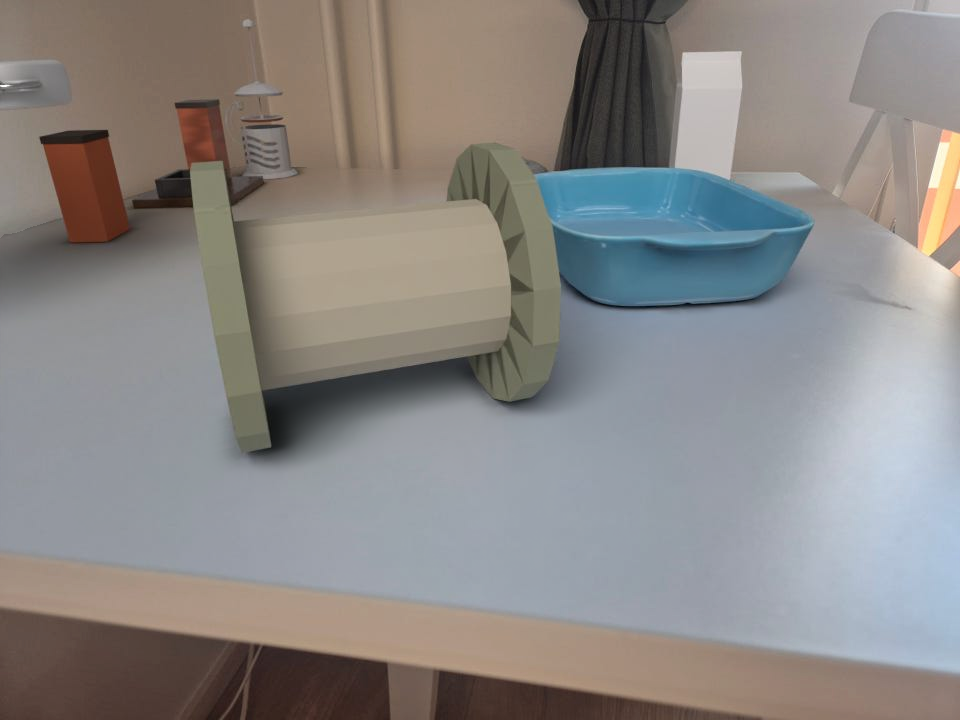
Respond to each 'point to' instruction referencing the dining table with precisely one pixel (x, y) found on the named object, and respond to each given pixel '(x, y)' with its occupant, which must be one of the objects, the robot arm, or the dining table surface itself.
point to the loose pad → (86, 184)
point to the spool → (382, 287)
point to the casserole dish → (668, 235)
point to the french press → (263, 133)
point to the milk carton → (706, 112)
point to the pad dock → (197, 158)
